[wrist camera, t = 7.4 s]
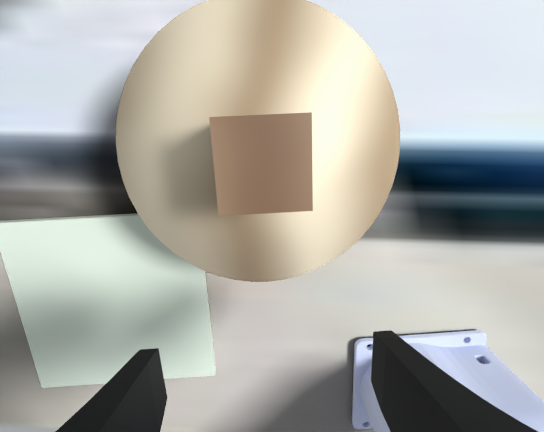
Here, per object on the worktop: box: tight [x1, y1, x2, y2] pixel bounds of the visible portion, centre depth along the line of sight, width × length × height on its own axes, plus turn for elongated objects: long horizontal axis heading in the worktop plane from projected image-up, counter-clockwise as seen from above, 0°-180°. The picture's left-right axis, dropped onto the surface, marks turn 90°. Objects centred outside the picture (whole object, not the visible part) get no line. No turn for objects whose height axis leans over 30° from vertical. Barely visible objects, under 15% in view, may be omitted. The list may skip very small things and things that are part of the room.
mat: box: [0, 213, 216, 388], centre depth 21 cm, size 12×12×1 cm
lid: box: [116, 0, 400, 282], centre depth 12 cm, size 12×12×5 cm
